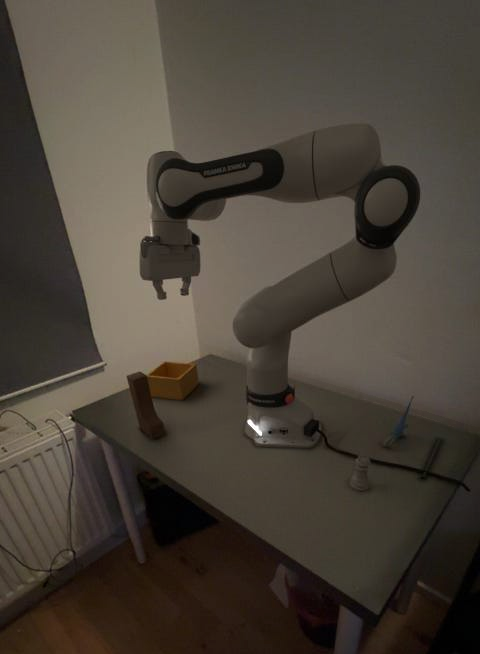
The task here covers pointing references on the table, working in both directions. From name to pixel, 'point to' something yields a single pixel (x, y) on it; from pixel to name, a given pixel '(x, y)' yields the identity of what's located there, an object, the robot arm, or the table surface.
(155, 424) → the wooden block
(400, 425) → the dinosaur figurine
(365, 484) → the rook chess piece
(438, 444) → the rod
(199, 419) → the table surface
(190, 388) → the bin
